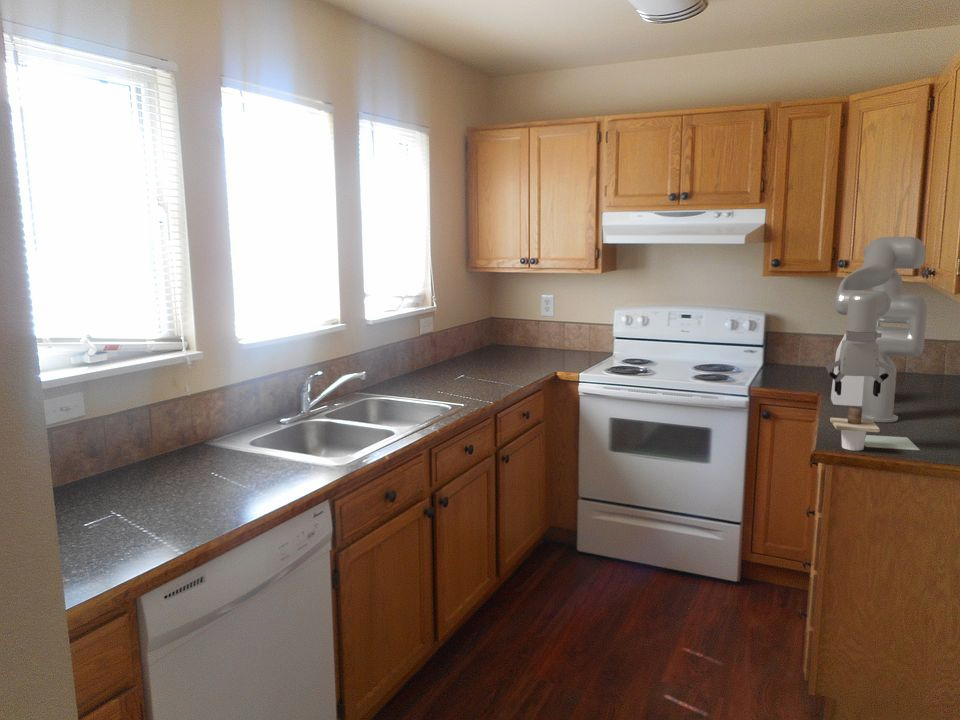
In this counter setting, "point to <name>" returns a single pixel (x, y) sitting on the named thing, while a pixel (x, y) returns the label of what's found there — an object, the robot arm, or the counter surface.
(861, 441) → the white cup
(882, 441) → the mat
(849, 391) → the milk
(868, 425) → the lid
